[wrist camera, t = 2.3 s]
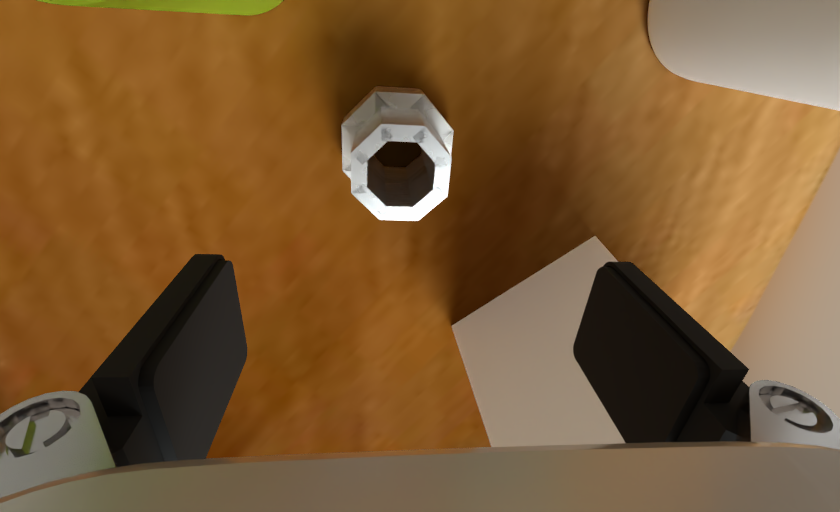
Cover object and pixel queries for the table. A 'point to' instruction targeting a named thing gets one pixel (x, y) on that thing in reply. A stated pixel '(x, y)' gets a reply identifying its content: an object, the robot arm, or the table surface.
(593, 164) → the table surface
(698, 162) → the table surface
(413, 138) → the octagonal collar pipe
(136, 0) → the soap dispenser
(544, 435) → the milk
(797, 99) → the pill bottle
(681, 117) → the table surface
